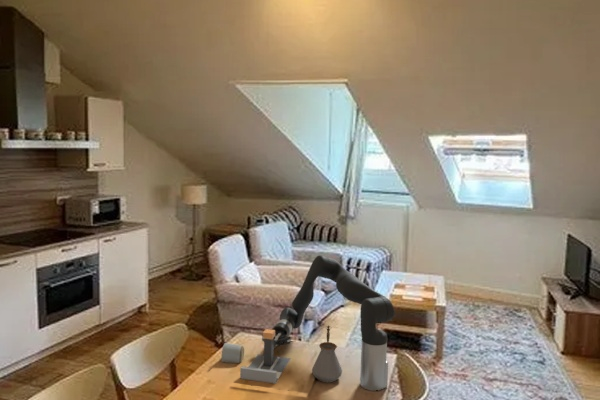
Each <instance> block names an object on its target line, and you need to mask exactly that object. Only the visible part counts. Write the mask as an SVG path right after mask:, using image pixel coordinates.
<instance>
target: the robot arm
mask: <svg viewBox="0 0 600 400" xmlns="http://www.w3.org/2000/svg"><path fill="white" fill-rule="evenodd" d="M308 269H309V270H308V272H307V274H306V276H305V278H304V281H303V282H302V285H301V287H300V290H299V291H298V293H297V294H296V296H295V297H294V298H293V301H292V302H291V307H284V308H283V309H282V311H280V314H279V320H278V321H277V322H276V323H275V324H274V326H273V327H272V328H271V330H275V337H274V348H276V347H277V346H278V347H282V346H284V345H289V344H291V343H292V342H291V339H292V337H291V333H292V331H293V330H294V329H295V330H296V329H298V328H300V327H301V325H302V323H303V319H304V316H305V312H306V311H307V308H308V307H309V306H310V304H311V302H313V299H314V294H315V293H314V283H315V281H316V280H317V278H318V277H320V278H324V279H327V280H331V281H333V282H334V283H336V284H335V285H336V286H335V287H336V289H337V292H338V293H339V294H340V295H341V296H343V297H344V298H345V299H346V300H348V301H349V302H353V303H356V304H358V305H360V332H361V333H360V334H361V349H360V350H361V352H360V353H361V355H360V374H359V385H360V387H362V388H363V389H365V390H367V391H371V392H373V391H374V392H377V391H376V390H378V391H382V390H384V389H386V388H388V380H389V379H388V378H389V362H388V361H387V355H388V354H387V352H388V350H387V348H388V334H387V332H385V331H384V330H382V329H378V328H377V324H384V323H387V322H389V321H391V320H392V319H393V318H394V316H395V308H394V305H393V303H392V302H391V300H390V299H389V298H388V297H387V296H385V295H383V294H381V293H379V292H378V291H375V290H374V289H373V288H371V287H370V286H369V285H367V284H366V283H364V282H363V281H362V280H361V279H360V278H359V277H357V276H356V275H354V274H353V273H351V272H350V271H348V270H347V269H346V268H345V267H343V265H342V264H341V263H340V262H339V261H338V260H336V259H335V258H333V257H329V256H327V255H317V256H316V257H314V259H313V260H312V263H311V265H310V267H309V268H308ZM261 340H262V342H264V339H263V333H262V334H261ZM381 389H382V390H381Z"/></svg>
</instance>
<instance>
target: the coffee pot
mask: <svg viewBox="0 0 600 400" xmlns="http://www.w3.org/2000/svg"><path fill="white" fill-rule="evenodd" d="M325 329H326V341H325V342H321V343H319V345H318V346H319V348H320V352H319V354H318V356H317V358H316V360H315V362H314V363H313V366H312V369H311V371H312V374H313V376H314V377H315V378H316V379H317V380H318V381H320V382H322V383H333V382H336V381H337V380H338V379H339V378H340V377H341V376H342V374H343V370H342V369H343V368H342V366H341V365H340V362H339V358H338V356H337V354H336V349H337V347H338V346H337V344H335V343H333V342H330V336H331V335H330V331H331V325H328V324H327V326H326V327H325Z"/></svg>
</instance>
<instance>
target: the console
mask: <svg viewBox="0 0 600 400" xmlns="http://www.w3.org/2000/svg"><path fill="white" fill-rule="evenodd" d="M290 360H291V358H290V357H283V356H277V355H276V356H275V355H273V364H272V365H271V366H268V365H264V354H259V353H258V354H257V355H256V356H255V357H254V359H253V360H252V362H251V363H250V364H249V365H248V366H241V367H240V370H239V371H240V372H239V373H240V374H239V377H240V378H239V379H240V380H245V381H246V380H247V381H255V382H261V383H269V384H275V385H276V384H277V382H278V380H279V379H280V377H281V376H282V375H283V372H284V371H285V369H286V367H287V365H288V364H289V362H290Z"/></svg>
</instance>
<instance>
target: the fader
mask: <svg viewBox="0 0 600 400" xmlns="http://www.w3.org/2000/svg"><path fill="white" fill-rule="evenodd" d="M262 334H263V339H264V341H263V355H264V365H268V366H271V365H272V364H273V356H274V354H275V353H274V349H275V347H274V337H275V330H272V329H270V328H268V329H267V328H265V329H264V331H263V332H262Z"/></svg>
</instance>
